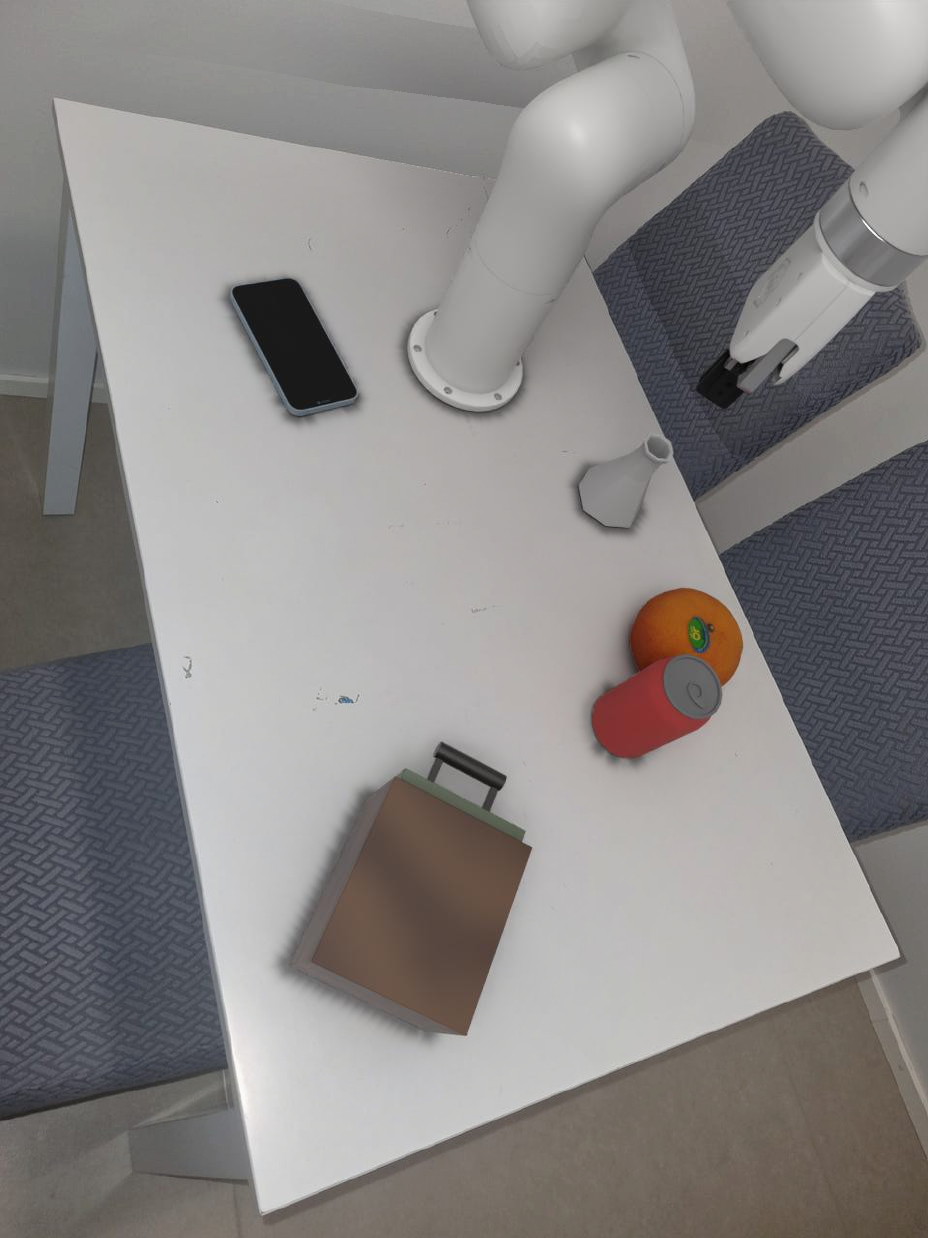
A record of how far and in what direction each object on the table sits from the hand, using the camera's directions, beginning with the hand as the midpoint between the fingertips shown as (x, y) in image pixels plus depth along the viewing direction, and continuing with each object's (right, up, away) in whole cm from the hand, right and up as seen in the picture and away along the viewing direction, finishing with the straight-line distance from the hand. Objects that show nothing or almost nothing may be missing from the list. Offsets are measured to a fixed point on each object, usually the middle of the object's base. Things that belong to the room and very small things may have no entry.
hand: (712, 394), depth 74 cm
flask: (-6, -7, +17) cm, 19 cm away
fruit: (-2, -23, +12) cm, 26 cm away
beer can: (-7, -29, +7) cm, 31 cm away
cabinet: (-27, -42, -7) cm, 50 cm away
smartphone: (-38, +7, +10) cm, 40 cm away
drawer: (-25, -38, -6) cm, 46 cm away
